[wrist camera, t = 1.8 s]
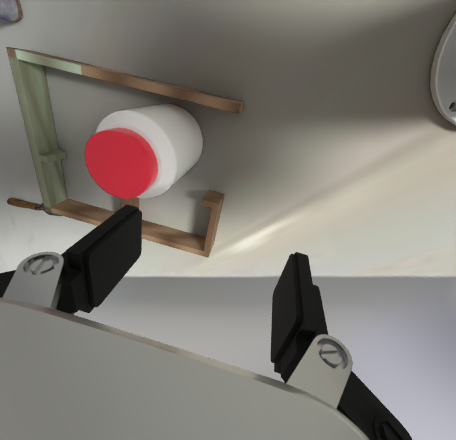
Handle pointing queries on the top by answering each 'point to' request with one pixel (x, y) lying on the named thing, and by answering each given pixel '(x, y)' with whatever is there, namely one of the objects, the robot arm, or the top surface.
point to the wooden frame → (51, 155)
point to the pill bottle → (143, 150)
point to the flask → (10, 10)
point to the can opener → (29, 205)
